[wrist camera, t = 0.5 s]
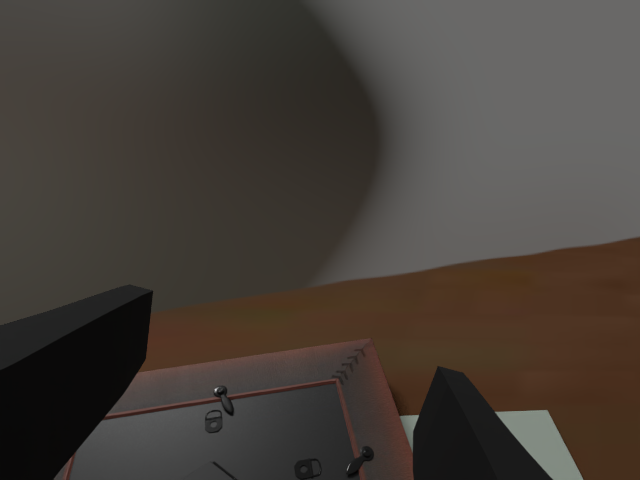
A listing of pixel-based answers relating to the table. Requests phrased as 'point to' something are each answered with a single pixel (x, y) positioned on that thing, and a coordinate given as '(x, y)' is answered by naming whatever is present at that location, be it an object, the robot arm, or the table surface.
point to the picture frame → (254, 421)
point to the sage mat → (529, 441)
